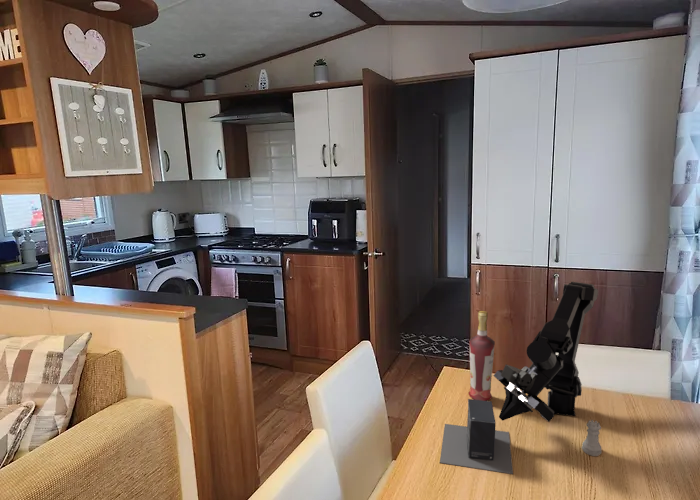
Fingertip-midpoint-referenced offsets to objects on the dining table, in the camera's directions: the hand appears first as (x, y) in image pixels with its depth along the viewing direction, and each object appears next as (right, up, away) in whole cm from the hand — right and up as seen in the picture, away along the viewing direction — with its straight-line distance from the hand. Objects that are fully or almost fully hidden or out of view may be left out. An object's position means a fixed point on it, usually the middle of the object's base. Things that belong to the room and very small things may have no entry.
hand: (500, 418), depth 117 cm
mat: (-6, -8, +1) cm, 10 cm away
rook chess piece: (+22, -8, -2) cm, 23 cm away
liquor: (+2, -3, +24) cm, 24 cm away
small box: (-5, -8, 0) cm, 9 cm away
